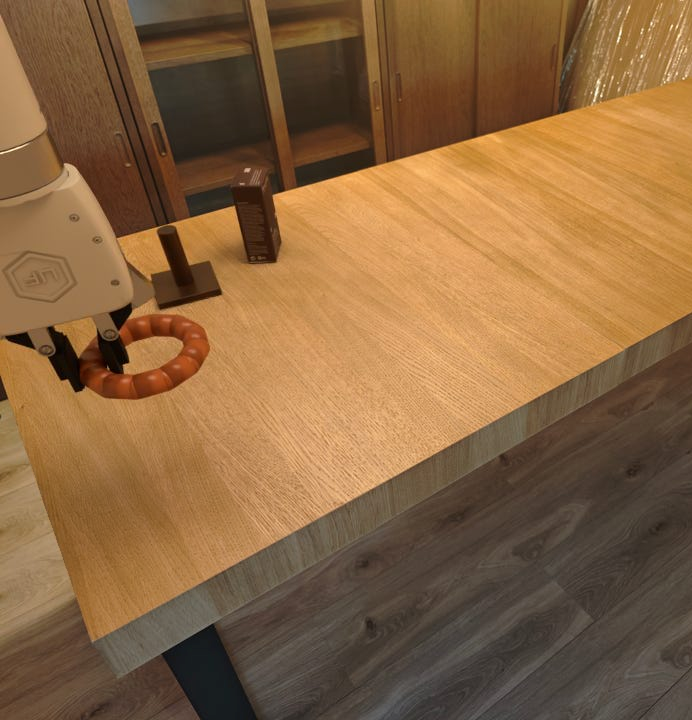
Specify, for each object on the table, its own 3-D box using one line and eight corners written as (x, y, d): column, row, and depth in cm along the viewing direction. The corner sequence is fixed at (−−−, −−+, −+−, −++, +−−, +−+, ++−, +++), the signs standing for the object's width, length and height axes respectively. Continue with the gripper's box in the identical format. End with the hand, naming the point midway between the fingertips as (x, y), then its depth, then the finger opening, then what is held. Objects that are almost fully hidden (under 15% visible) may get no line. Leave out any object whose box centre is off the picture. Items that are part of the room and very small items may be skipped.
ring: (87, 419, 50) (76, 401, 48) (82, 346, 56) (73, 328, 55) (220, 381, 53) (214, 363, 52) (201, 316, 60) (195, 298, 59)
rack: (160, 310, 85) (136, 251, 79) (152, 280, 90) (129, 223, 84) (222, 294, 88) (203, 236, 82) (211, 266, 93) (193, 209, 87)
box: (279, 262, 94) (261, 185, 86) (247, 263, 94) (226, 186, 86) (284, 241, 98) (268, 166, 90) (254, 242, 98) (235, 167, 90)
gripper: (-175, 214, 36) (-16, 437, 48) (133, 164, 42) (207, 374, 54) (-148, 164, 41) (-10, 377, 53) (124, 125, 47) (194, 325, 59)
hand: (99, 374), depth 53 cm, fingers closed on ring, 2 cm apart
